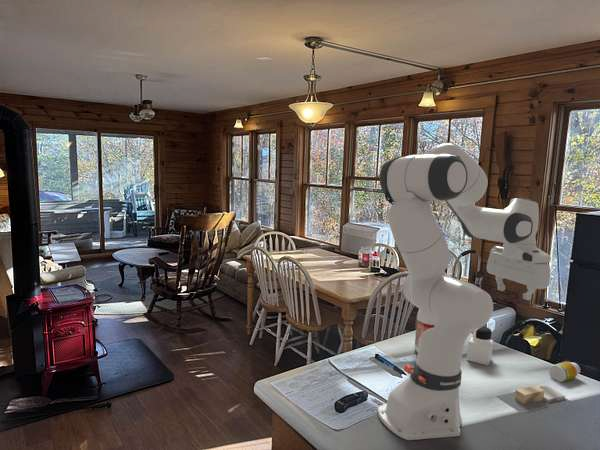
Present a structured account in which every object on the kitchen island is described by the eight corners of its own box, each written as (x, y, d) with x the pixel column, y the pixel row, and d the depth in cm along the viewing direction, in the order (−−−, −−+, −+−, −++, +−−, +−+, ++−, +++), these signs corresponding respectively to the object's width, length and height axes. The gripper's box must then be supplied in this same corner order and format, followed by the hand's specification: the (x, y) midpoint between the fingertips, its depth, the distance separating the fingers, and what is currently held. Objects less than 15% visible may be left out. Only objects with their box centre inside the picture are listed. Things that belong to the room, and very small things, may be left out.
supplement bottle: (567, 380, 131) (585, 375, 136) (559, 363, 134) (577, 358, 138) (553, 383, 136) (571, 378, 140) (545, 367, 138) (563, 362, 142)
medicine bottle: (491, 358, 150) (495, 327, 148) (488, 366, 144) (492, 333, 142) (470, 353, 154) (473, 322, 152) (466, 360, 148) (470, 328, 146)
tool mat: (521, 415, 115) (521, 413, 115) (495, 398, 123) (495, 396, 123) (570, 403, 122) (571, 401, 122) (543, 387, 131) (543, 385, 131)
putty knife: (528, 407, 118) (529, 397, 118) (510, 396, 124) (511, 387, 123) (564, 398, 124) (565, 389, 123) (546, 388, 129) (547, 379, 129)
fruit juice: (426, 344, 160) (432, 273, 156) (446, 353, 152) (453, 279, 148) (408, 348, 155) (415, 276, 151) (428, 359, 147) (435, 282, 143)
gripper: (484, 245, 135) (480, 286, 137) (540, 258, 117) (534, 306, 119) (498, 244, 138) (494, 284, 140) (556, 257, 119) (550, 304, 121)
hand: (513, 294), depth 129 cm, fingers open, 8 cm apart
